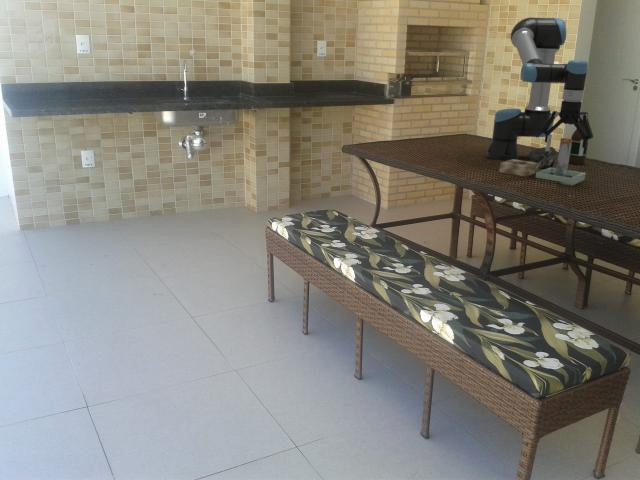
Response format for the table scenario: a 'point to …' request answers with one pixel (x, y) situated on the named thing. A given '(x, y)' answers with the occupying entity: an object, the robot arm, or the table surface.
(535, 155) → the rock
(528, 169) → the block
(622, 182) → the table surface
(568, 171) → the tray
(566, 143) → the pin
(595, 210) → the table surface
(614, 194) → the table surface
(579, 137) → the beer bottle
